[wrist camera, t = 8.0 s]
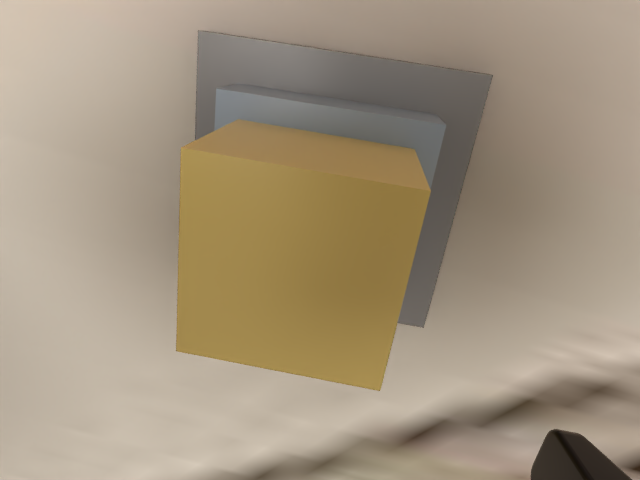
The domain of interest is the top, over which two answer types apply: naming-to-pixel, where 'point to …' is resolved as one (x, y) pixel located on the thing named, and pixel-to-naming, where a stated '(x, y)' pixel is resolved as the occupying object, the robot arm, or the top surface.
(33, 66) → the top surface
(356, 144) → the mustard brick
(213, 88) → the baseplate
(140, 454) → the top surface
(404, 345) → the top surface
